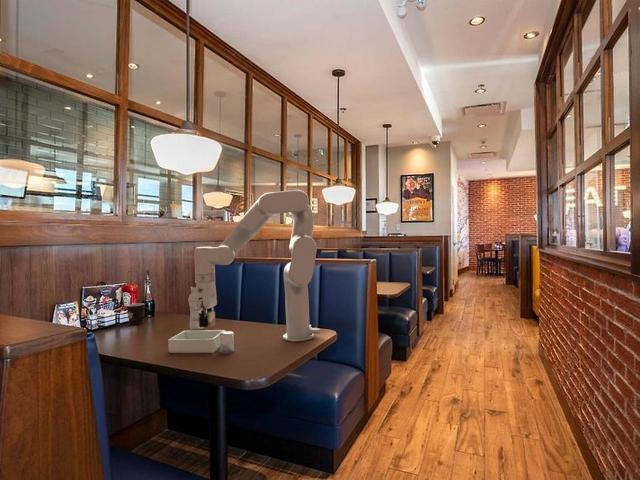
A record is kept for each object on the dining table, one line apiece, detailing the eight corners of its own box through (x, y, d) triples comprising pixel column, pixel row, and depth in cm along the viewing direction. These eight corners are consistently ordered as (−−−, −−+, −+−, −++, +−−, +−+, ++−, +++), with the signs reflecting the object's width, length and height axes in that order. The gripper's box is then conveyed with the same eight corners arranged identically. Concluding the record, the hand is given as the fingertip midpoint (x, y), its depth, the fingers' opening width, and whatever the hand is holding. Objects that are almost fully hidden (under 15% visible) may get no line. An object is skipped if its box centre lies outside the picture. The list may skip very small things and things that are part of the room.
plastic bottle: (200, 332, 178) (198, 288, 178) (186, 331, 179) (184, 288, 179) (207, 328, 184) (205, 286, 184) (194, 328, 186) (192, 286, 185)
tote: (226, 342, 159) (225, 330, 159) (213, 352, 145) (213, 339, 145) (184, 342, 161) (184, 330, 161) (168, 353, 147) (168, 339, 147)
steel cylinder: (235, 349, 148) (235, 331, 148) (231, 353, 144) (230, 334, 143) (223, 349, 149) (222, 331, 149) (218, 353, 144) (217, 334, 144)
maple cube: (215, 324, 155) (214, 311, 155) (210, 327, 150) (209, 314, 150) (203, 324, 155) (202, 311, 155) (197, 327, 150) (197, 314, 150)
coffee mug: (125, 324, 200) (124, 305, 200) (142, 321, 206) (141, 302, 206) (132, 328, 191) (131, 307, 191) (150, 324, 197) (149, 304, 197)
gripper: (205, 281, 143) (207, 330, 144) (222, 275, 160) (223, 320, 161) (186, 281, 144) (187, 330, 144) (204, 276, 161) (206, 320, 161)
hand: (206, 324), depth 152 cm, fingers closed on maple cube, 4 cm apart
